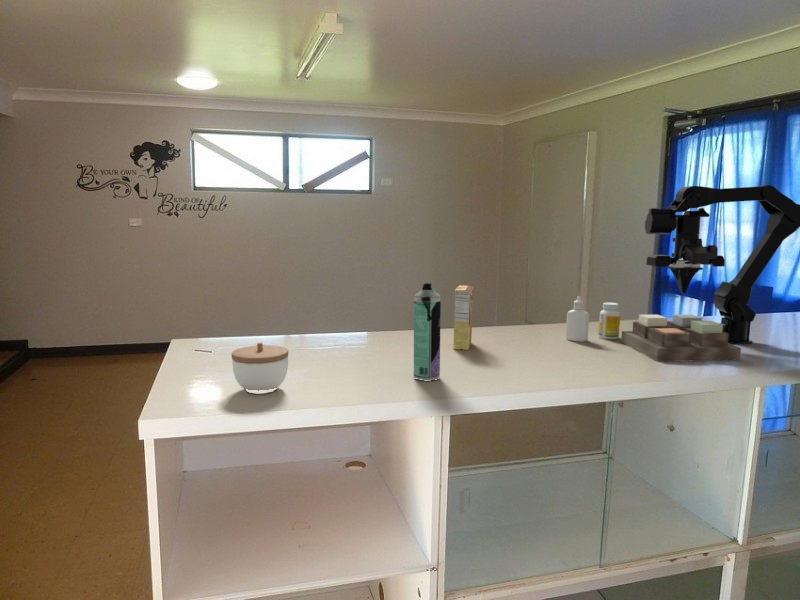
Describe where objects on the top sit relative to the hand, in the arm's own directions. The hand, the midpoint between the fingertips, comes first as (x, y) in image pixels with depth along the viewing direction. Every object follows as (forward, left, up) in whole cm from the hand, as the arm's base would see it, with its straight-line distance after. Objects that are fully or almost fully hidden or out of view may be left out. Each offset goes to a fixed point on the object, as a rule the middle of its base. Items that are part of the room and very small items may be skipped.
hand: (682, 292), depth 158 cm
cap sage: (+2, +16, -8) cm, 18 cm away
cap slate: (+2, +7, -8) cm, 11 cm away
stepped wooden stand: (+7, +12, -13) cm, 19 cm away
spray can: (+72, +34, -13) cm, 81 cm away
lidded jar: (+105, +41, -13) cm, 113 cm away
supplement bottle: (+18, -4, -13) cm, 23 cm away
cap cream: (+11, +7, -8) cm, 16 cm away
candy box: (+60, +5, -13) cm, 62 cm away
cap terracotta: (+11, +16, -10) cm, 22 cm away
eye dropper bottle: (+28, -1, -13) cm, 31 cm away
